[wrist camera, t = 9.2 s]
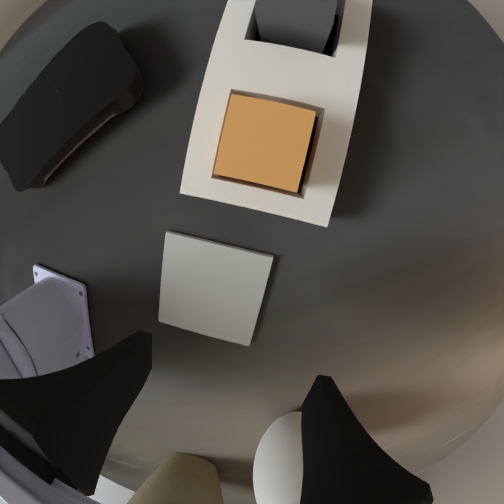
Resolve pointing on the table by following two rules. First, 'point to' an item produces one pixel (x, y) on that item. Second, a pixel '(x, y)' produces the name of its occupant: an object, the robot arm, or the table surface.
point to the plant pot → (181, 483)
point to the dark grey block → (296, 22)
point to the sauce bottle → (279, 462)
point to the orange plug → (264, 142)
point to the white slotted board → (283, 91)
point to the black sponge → (68, 104)
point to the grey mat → (212, 287)
